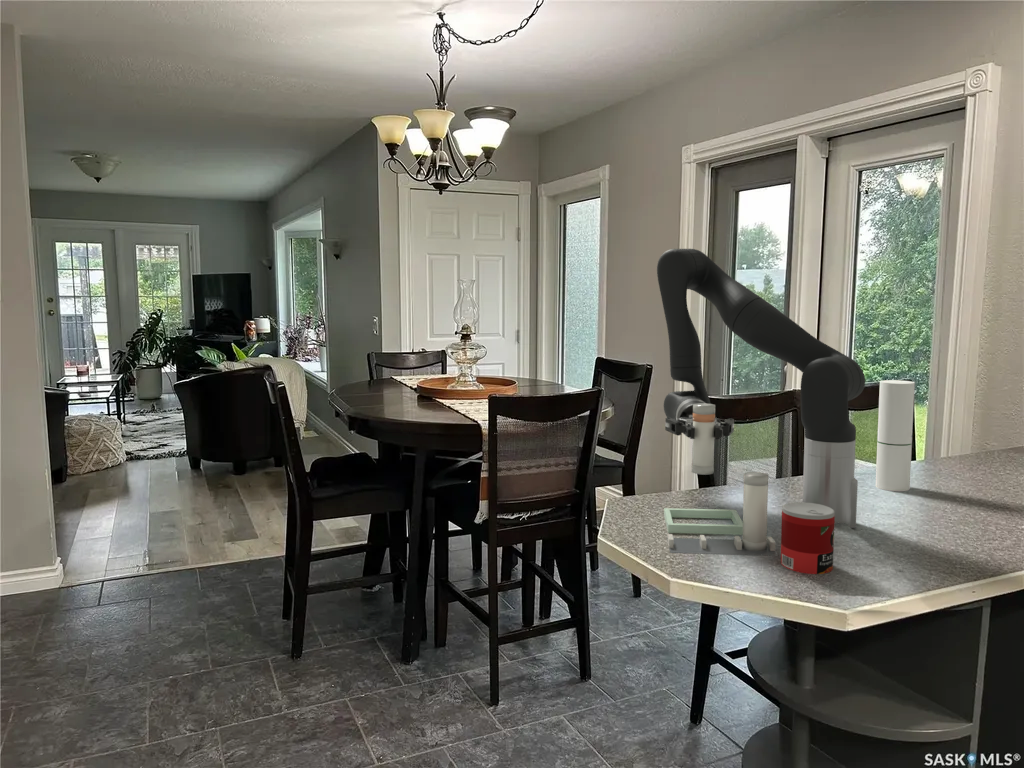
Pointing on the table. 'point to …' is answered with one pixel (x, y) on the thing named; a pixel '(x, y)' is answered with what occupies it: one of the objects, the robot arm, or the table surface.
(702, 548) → the clip block
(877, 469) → the cylindrical container
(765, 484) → the plain fuse
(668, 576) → the table surface
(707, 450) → the cylinder
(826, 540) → the canned food
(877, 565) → the table surface
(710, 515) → the tray
